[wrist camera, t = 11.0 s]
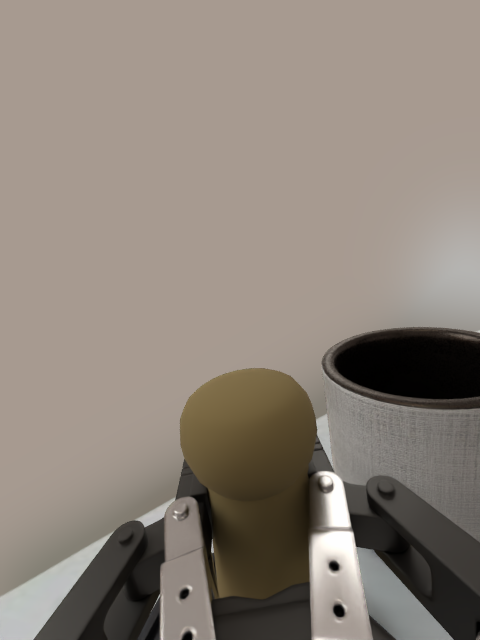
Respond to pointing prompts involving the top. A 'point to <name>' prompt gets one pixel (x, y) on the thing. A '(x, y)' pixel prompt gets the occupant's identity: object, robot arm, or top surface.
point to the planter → (409, 414)
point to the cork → (253, 476)
